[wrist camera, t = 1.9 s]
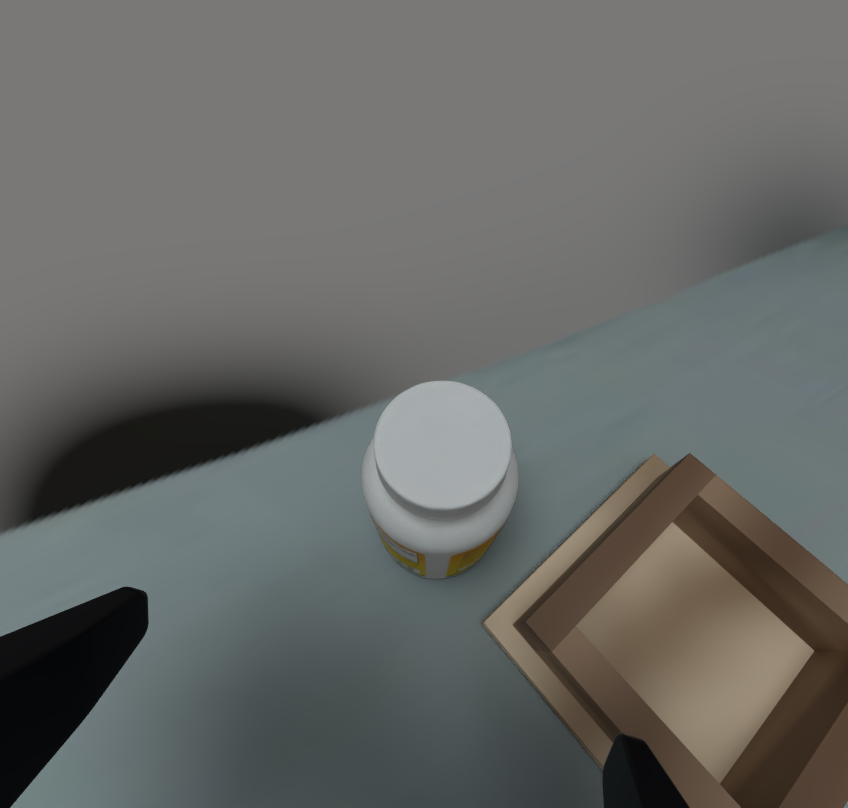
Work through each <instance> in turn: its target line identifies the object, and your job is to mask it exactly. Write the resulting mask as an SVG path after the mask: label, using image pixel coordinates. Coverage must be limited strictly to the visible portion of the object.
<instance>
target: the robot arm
mask: <svg viewBox="0 0 848 808" xmlns="http://www.w3.org/2000/svg"><path fill="white" fill-rule="evenodd" d="M147 628H148V597H147V594H146V592H144V591H142V590H139V589H135V588H132V587H122V588H119V589H117V590H115V591H112V592H110V593H107V594H105V595H102V596H100V597H97V598H95V599H92V600H90V601H87V602H85V603H82V604H80V605H78V606H75V607H73V608H70V609H68V610H65V611H63V612H60V613H58V614H55V615H53V616H50V617H48V618H46V619H43V620H41V621H38V622H36V623H33V624H31V625H28V626H26V627H23V628H21V629H18V630H16V631H14V632H11V633H9V634H6V635H4V636H1V637H0V808H10V807H11V806H12V805H13V803H14V802H15V801H16V800H17V799H18V798H19V796H20V795H21V794H22V793H23V792H24V790H25V789H26V788H27V787H28V786H29V784H30V783H31V782H32V781H33V780H34V779H35V777H36V776H37V775H38V774H39V773H40V771H41V770H42V769H43V768H44V767H45V765H46V764H47V763H48V762H49V761H50V760H51V758H52V757H53V756H54V755H55V754H56V752H57V751H58V750H59V749H60V748H61V747H62V745H63V744H64V743H65V742H66V741H67V739H68V738H69V737H70V736H71V735H72V733H73V732H74V731H75V730H76V729H77V727H78V726H79V725H80V724H81V723H82V721H83V720H84V719H85V718H86V716H87V715H88V714H89V712H90V711H91V710H92V708H93V707H94V706H95V704H96V703H97V702H98V700H99V699H100V698H101V696H102V695H103V693H104V692H105V691H106V689H107V688H108V686H109V685H110V683H111V682H112V681H113V679H114V678H115V676H116V675H117V674H118V672H119V671H120V669H121V668H122V667H123V665H124V664H125V662H126V661H127V660H128V658H129V657H130V655H131V654H132V653H133V651H134V650H135V648H136V647H137V646H138V644H139V643H140V641H141V640H142V638H143V637H144V635H145V633H146V631H147ZM603 798H604V808H690V807H689V805H688V804H687V802H686V801H685V799H684V798H683V796H682V795H681V793H680V792H679V790H678V789H677V787H676V786H675V784H674V783H673V781H672V780H671V778H670V777H669V775H668V774H667V772H666V771H665V769H664V768H663V766H662V765H661V763H660V762H659V760H658V759H657V757H656V756H655V755H654V753H653V752H652V750H651V749H650V747H649V746H648V744H647V743H646V742H645V741H644V740H643V739H641V738H638V737H635V736H632V735H628V734H625V733H619V734H618V735H617V736H616V737H615V740H614V742H613V744H612V747H611V749H610V752H609V754H608V756H607V759H606V761H605V764H604V768H603Z"/></svg>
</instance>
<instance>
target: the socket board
mask: <svg viewBox="0 0 848 808" xmlns="http://www.w3.org/2000/svg"><path fill="white" fill-rule="evenodd" d="M481 624H482V625H483V627H484V628H485V629H486V630H487V631H488V633H489V634H490V635H491V636H492V637H493V639H494V640H495V641H496V642H497V643H498V645H499V646H500V647H501V648H502V650H503V651H504V652H505V653H506V654H507V656H508V657H509V658H510V659H511V660H512V662H513V663H514V664H515V665H516V666H517V668H518V669H519V670H520V671H521V673H522V674H523V675H524V676H525V677H526V679H527V680H528V681H529V682H530V683H531V685H532V686H533V687H534V688H535V690H536V691H537V692H538V693H539V694H540V696H541V697H542V698H543V699H544V700H545V702H546V703H547V704H548V705H549V706H550V708H551V709H552V710H553V711H554V713H555V714H556V715H557V716H558V717H559V719H560V720H561V721H562V722H563V723H564V725H565V726H566V727H567V728H568V730H569V731H570V732H571V733H572V734H573V736H574V737H575V738H576V739H577V740H578V742H579V743H580V744H581V745H582V746H583V748H584V749H585V750H586V751H587V753H588V754H589V755H590V756H591V757H592V759H593V760H594V761H595V762H596V763H597V765H598V766H599V767H600V768H601V769H602V771H603V768H604V764H605V761H606V759H607V756H608V754H609V752H610V749H611V747H612V744H613V742H614V740H615V737H616V736H617V735H618V734H619V733H625V734H628V735H632V736H635V737H638V738H641V739H643V740H644V741H645V742H646V743H647V744H648V746H649V747H650V749H651V750H652V752H653V753H654V755H655V756H656V757H657V759H658V760H659V762H660V763H661V765H662V766H663V768H664V769H665V771H666V772H667V774H668V775H669V777H670V778H671V780H672V781H673V783H674V784H675V786H676V787H677V789H678V790H679V792H680V793H681V795H682V796H683V798H684V799H685V801H686V802H687V804H688V805H689V807H690V808H843V807H844V806H845V804H846V802H847V801H848V584H847V583H846V582H845V581H843V580H842V579H841V578H840V577H839V576H837V575H836V574H835V573H834V572H833V571H831V570H830V569H829V568H828V567H827V566H825V565H824V564H823V563H822V562H820V561H819V560H818V559H817V558H816V557H814V556H813V555H812V554H811V553H810V552H808V551H807V550H806V549H805V548H804V547H802V546H801V545H800V544H799V543H798V542H796V541H795V540H794V539H793V538H792V537H790V536H789V535H788V534H787V533H786V532H784V531H783V530H782V529H781V528H780V527H778V526H777V525H776V524H775V523H774V522H772V521H771V520H770V519H769V518H768V517H766V516H765V515H764V514H763V513H762V512H760V511H759V510H758V509H757V508H755V507H754V506H753V505H752V504H751V503H749V502H748V501H747V500H746V499H745V498H743V497H742V496H741V495H740V494H739V493H737V492H736V491H735V490H734V489H733V488H731V487H730V486H729V485H728V484H727V483H725V482H724V481H723V480H722V479H721V478H719V477H718V476H717V475H716V474H715V473H713V472H712V471H711V470H710V469H709V468H707V467H706V466H705V465H704V464H703V463H701V462H700V461H699V460H698V459H696V458H695V457H694V456H693V455H692V454H690V453H689V454H688V455H687V456H685V457H684V458H683V459H681V460H680V461H679V462H677V463H676V464H675V465H673V466H672V467H669V466H668V465H667V464H665V463H664V462H663V461H662V460H661V459H660V458H658V457H657V456H656V455H655V454H653V455H652V456H651V457H650V458H649V459H648V460H646V461H645V462H644V463H643V464H642V465H641V466H640V467H639V468H638V469H637V470H636V471H635V472H634V473H633V474H632V475H631V476H630V477H629V478H628V479H627V480H626V481H625V482H624V483H623V484H622V485H621V486H620V487H619V488H618V489H617V490H616V491H615V492H614V493H613V494H612V495H611V496H610V497H609V498H608V499H607V500H606V501H605V502H604V503H603V504H602V505H601V506H600V507H599V508H598V509H597V510H595V511H594V512H593V513H592V514H591V515H590V516H589V517H588V518H587V519H586V520H585V521H584V522H583V523H582V524H581V525H580V526H579V527H578V528H577V529H576V530H575V531H574V532H573V533H572V534H571V535H570V536H569V537H568V538H567V539H566V540H565V541H564V542H563V543H562V544H561V545H560V546H559V547H558V548H557V549H556V550H555V551H554V552H553V553H552V554H551V555H550V556H549V557H548V558H547V559H546V560H545V561H544V562H543V563H542V564H541V565H540V566H539V567H538V568H537V569H536V570H535V571H534V572H533V573H532V574H531V575H530V576H529V577H528V578H527V579H526V580H525V581H524V582H523V583H522V584H521V585H520V586H519V587H518V588H517V589H516V590H515V591H514V592H513V593H512V594H511V595H510V596H509V597H508V598H507V599H505V600H504V601H503V602H502V603H501V604H500V605H499V606H498V607H497V608H496V609H495V610H494V611H493V612H492V613H491V614H490V615H489V616H488V617H487V618H486V619H485V620H484V621H483V622H482V623H481Z"/></svg>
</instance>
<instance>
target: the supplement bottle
mask: <svg viewBox="0 0 848 808" xmlns="http://www.w3.org/2000/svg"><path fill="white" fill-rule="evenodd" d="M518 485H519V473H518V465H517V461H516V457H515V454H514V451H513V449H512V439H511V434H510V430H509V426H508V424H507V422H506V419H505V417H504V416H503V414H502V412H501V411H500V409H499V408H498V407H497V405H496V404H495V403H494V402H493V401H492V400H491V399H490V398H489V397H487V396H486V395H485V394H483V393H482V392H480V391H479V390H477V389H475V388H473V387H471V386H468V385H465V384H462V383H458V382H452V381H432V382H426V383H422V384H419V385H416V386H414V387H412V388H410V389H408V390H406V391H404V392H403V393H401V394H399V395H398V396H397V397H396V398H395V399H394V400H392V401H391V402H390V404H389V405H388V406H387V407H386V408H385V410H384V412H383V413H382V415H381V417H380V419H379V421H378V423H377V426H376V430H375V434H374V437H373V439H372V441H371V442H370V444H369V446H368V449H367V451H366V454H365V457H364V461H363V466H362V490H363V494H364V499H365V502H366V505H367V508H368V510H369V512H370V515H371V517H372V519H373V522H374V524H375V526H376V528H377V530H378V532H379V535H380V538H381V540H382V542H383V544H384V546H385V548H386V550H387V551H388V553H389V554H390V555H391V557H392V558H393V559H394V560H395V561H396V562H397V563H398V564H399V565H400V566H401V567H403V568H404V569H406V570H407V571H409V572H411V573H413V574H415V575H418V576H421V577H424V578H431V579H443V578H449V577H453V576H456V575H458V574H461V573H463V572H465V571H466V570H468V569H470V568H471V567H472V566H473V565H475V564H476V563H477V562H478V561H479V560H480V559H481V558H482V556H483V555H484V554H485V552H486V551H487V549H488V548H489V546H490V545H491V543H492V542H493V540H494V539H495V537H496V535H497V534H498V532H499V531H500V529H501V528H502V526H503V525H504V523H505V522H506V520H507V518H508V517H509V515H510V513H511V511H512V508H513V506H514V504H515V500H516V497H517V492H518Z"/></svg>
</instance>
